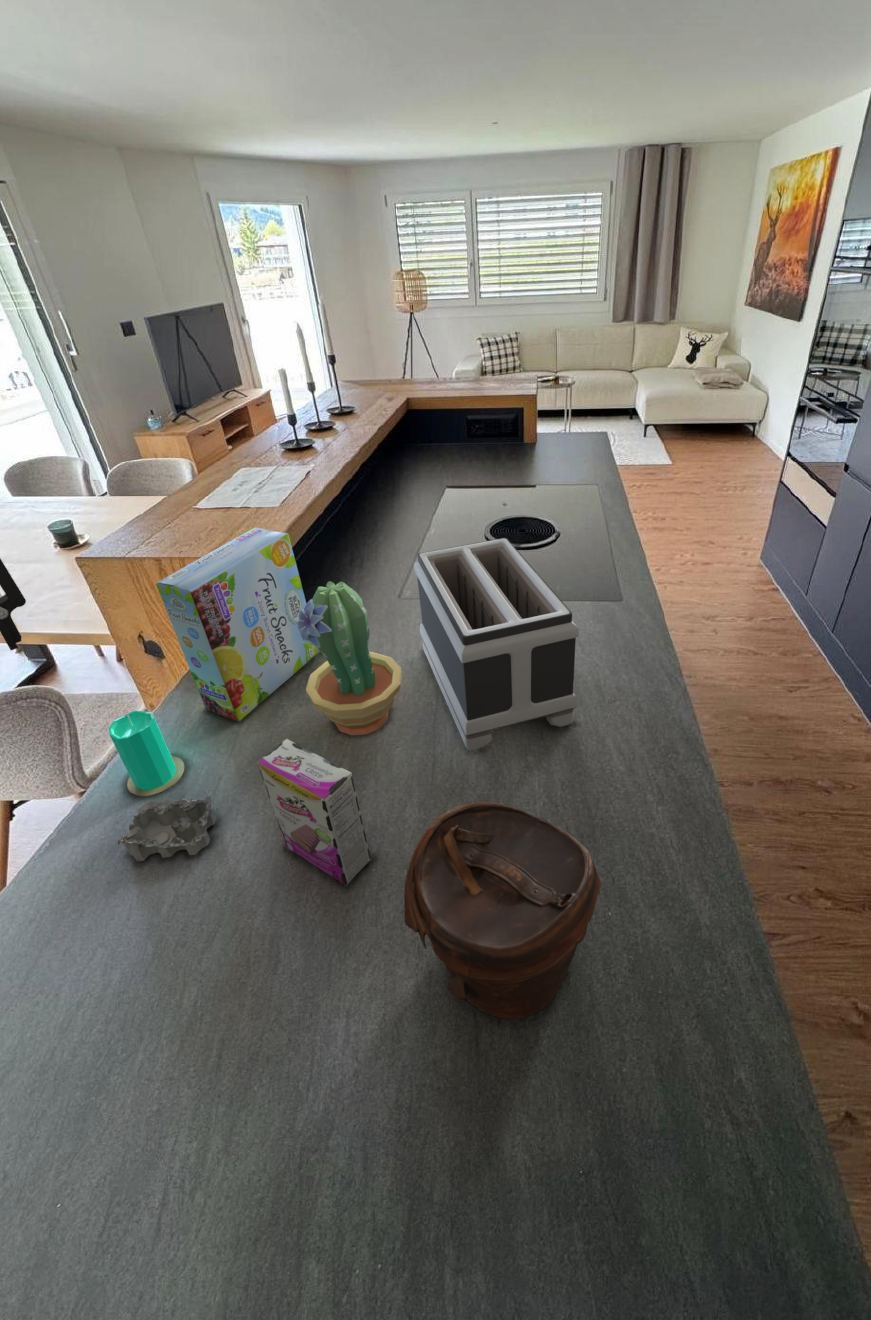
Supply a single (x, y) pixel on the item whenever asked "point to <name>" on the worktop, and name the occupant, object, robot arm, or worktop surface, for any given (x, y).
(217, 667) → the snack box
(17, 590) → the robot arm
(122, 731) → the candle
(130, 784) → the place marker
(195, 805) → the egg carton
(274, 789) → the candy bar box
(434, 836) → the case
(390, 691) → the potted cactus
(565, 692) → the toaster
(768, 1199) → the worktop surface
